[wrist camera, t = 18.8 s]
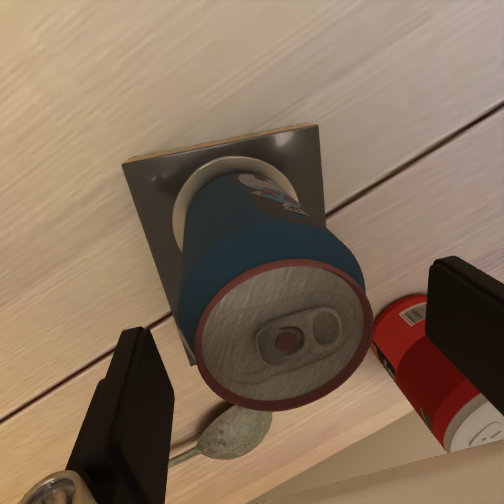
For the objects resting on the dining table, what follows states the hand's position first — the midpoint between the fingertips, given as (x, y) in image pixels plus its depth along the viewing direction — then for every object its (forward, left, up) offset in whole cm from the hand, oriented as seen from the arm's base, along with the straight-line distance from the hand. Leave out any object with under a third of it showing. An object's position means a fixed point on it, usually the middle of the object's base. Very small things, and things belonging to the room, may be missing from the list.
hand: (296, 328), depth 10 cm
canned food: (-13, +15, -14) cm, 25 cm away
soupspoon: (+12, +23, -14) cm, 29 cm away
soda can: (0, 0, -12) cm, 12 cm away
